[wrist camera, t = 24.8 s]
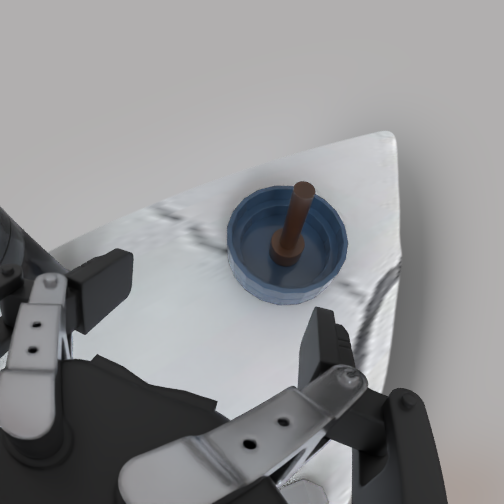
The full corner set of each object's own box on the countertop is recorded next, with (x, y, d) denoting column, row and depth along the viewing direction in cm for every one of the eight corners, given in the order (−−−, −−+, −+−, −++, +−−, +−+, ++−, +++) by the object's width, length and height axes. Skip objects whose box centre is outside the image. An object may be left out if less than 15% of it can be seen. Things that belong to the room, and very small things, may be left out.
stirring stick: (265, 261, 40) (277, 201, 28) (273, 234, 42) (287, 168, 30) (296, 270, 40) (323, 213, 27) (303, 242, 42) (328, 179, 29)
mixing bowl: (213, 288, 39) (210, 272, 34) (246, 197, 46) (247, 174, 41) (325, 318, 38) (337, 307, 33) (341, 223, 44) (352, 203, 39)
